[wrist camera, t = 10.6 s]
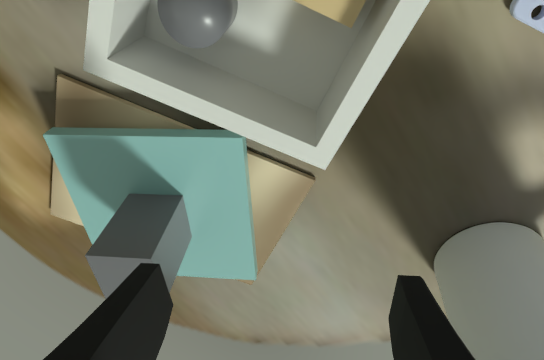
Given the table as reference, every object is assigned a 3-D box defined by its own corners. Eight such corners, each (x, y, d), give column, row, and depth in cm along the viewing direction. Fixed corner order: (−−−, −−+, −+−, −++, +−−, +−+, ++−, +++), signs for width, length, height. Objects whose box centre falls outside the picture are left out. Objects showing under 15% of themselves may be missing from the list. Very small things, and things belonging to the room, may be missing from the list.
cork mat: (315, 177, 20) (315, 180, 20) (252, 281, 26) (251, 285, 25) (60, 73, 18) (57, 75, 18) (53, 211, 24) (50, 214, 23)
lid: (247, 122, 18) (220, 197, 13) (259, 260, 24) (243, 349, 19) (61, 120, 19) (-29, 188, 14) (115, 253, 25) (64, 334, 20)
